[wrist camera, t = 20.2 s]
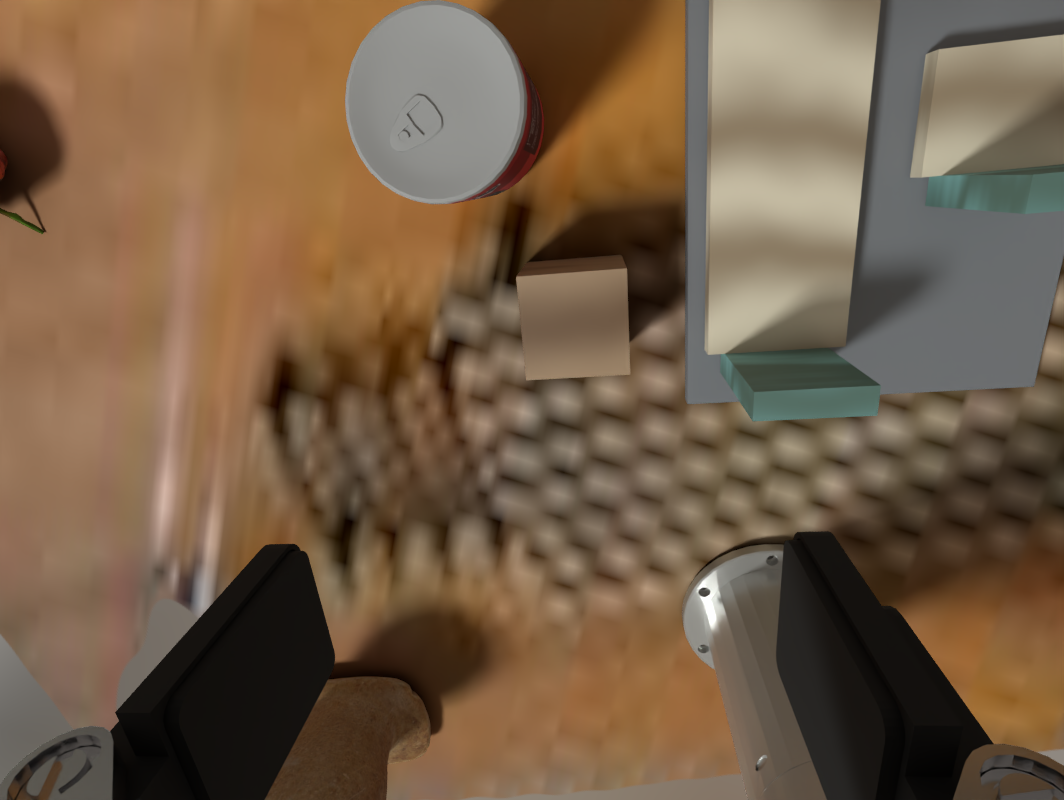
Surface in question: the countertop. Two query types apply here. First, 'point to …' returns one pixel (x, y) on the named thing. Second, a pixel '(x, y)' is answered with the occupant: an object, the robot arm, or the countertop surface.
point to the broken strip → (993, 127)
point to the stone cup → (354, 741)
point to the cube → (574, 317)
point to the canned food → (442, 105)
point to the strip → (787, 200)
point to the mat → (906, 226)
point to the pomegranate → (0, 166)
